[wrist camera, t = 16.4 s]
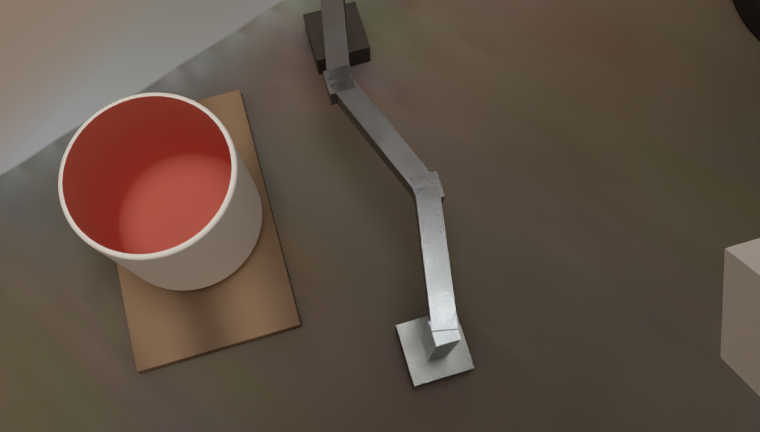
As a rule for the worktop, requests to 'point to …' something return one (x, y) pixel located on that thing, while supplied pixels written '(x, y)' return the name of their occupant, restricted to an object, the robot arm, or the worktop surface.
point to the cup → (161, 191)
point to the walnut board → (223, 299)
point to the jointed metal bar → (333, 58)
